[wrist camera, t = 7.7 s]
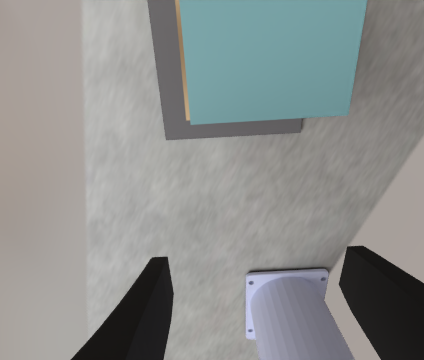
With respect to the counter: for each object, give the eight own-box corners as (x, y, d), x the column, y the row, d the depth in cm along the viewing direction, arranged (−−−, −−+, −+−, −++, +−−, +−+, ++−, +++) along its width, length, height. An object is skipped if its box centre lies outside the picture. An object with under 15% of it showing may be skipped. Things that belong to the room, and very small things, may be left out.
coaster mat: (298, 131, 18) (300, 132, 17) (166, 138, 18) (166, 140, 18) (314, -38, 14) (317, -42, 14) (145, -28, 14) (143, -31, 14)
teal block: (294, 101, 11) (348, 115, 7) (197, 107, 11) (190, 124, 7) (304, -22, 9) (384, -105, 5) (187, -14, 9) (170, -90, 5)
